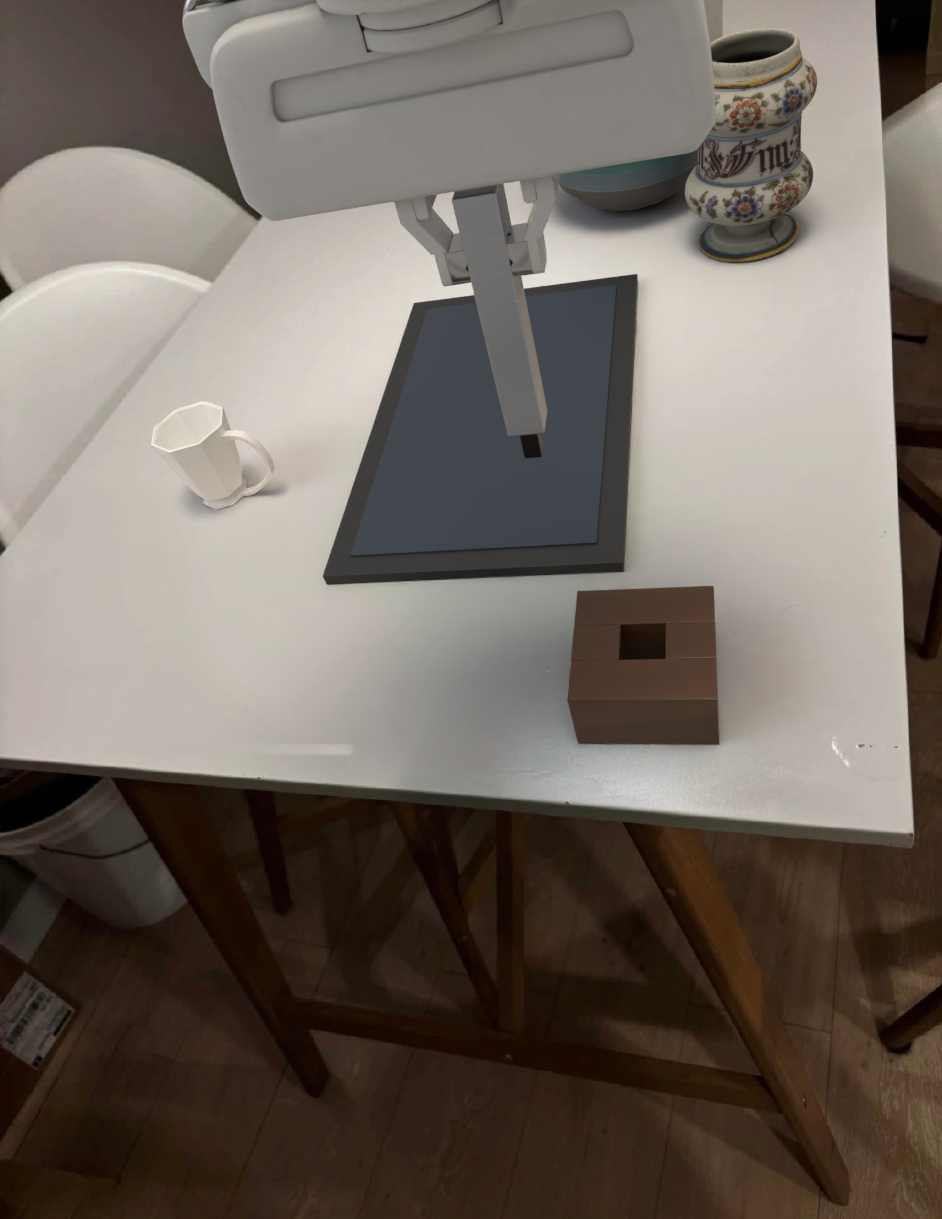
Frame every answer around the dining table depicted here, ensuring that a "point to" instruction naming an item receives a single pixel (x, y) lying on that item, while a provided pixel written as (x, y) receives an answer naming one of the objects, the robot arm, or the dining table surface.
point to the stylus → (502, 312)
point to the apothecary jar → (753, 146)
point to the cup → (207, 453)
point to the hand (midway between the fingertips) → (495, 273)
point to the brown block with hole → (644, 667)
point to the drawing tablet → (497, 448)
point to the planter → (639, 164)
